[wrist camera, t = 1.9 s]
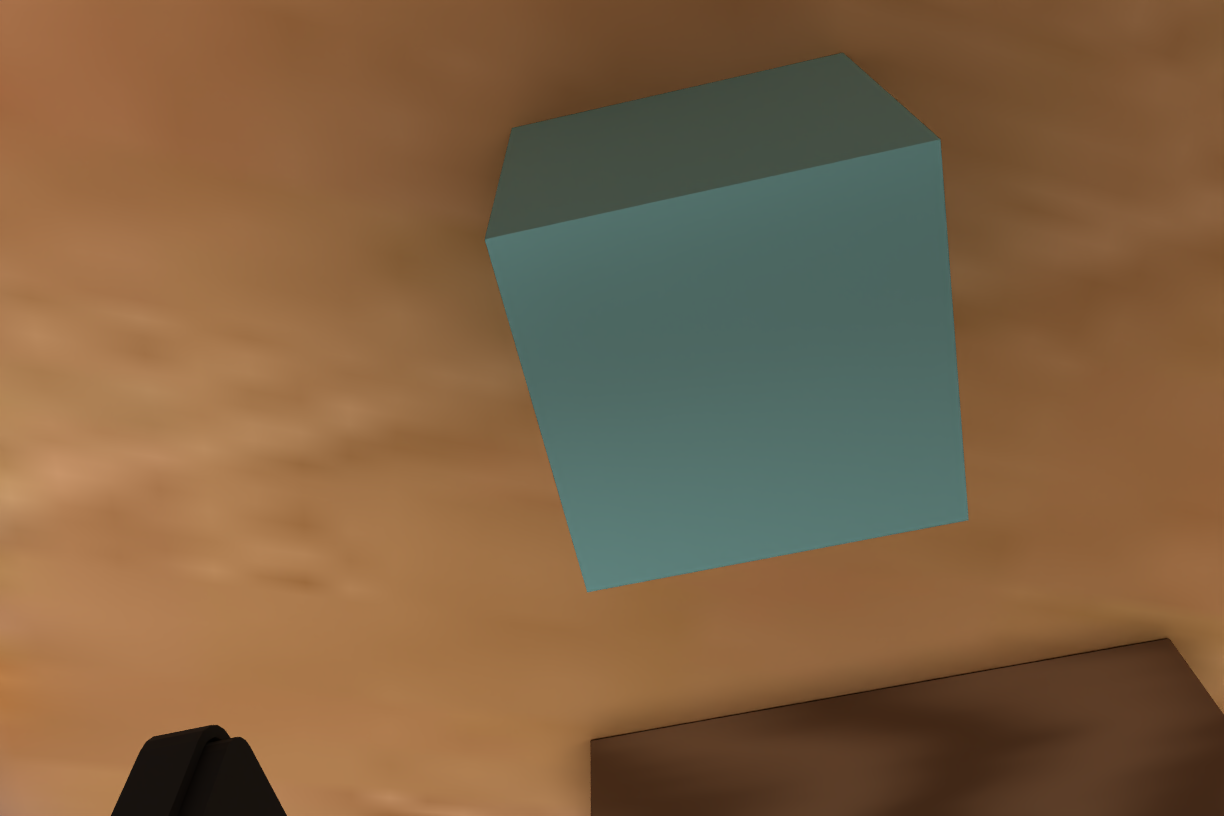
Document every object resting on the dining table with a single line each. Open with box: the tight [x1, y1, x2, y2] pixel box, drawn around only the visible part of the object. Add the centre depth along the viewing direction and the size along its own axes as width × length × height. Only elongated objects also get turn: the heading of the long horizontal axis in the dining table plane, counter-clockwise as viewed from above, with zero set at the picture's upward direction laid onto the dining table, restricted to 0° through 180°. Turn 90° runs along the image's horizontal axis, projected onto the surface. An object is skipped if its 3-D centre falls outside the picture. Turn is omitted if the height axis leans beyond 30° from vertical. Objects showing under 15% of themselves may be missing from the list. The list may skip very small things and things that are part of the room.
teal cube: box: [485, 53, 968, 592], centre depth 18 cm, size 6×6×6 cm
